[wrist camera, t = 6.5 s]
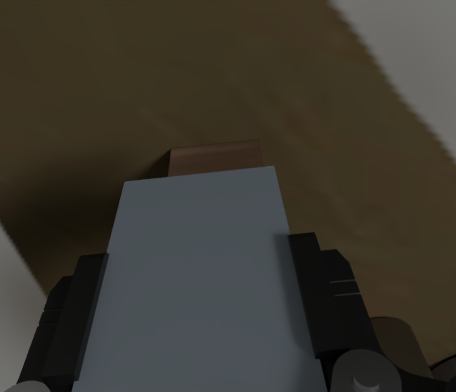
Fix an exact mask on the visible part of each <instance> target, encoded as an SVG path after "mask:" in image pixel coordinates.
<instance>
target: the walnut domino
mask: <svg viewBox="0 0 456 392" xmlns="http://www.w3.org/2000/svg"><path fill="white" fill-rule="evenodd" d="M258 167H264V166H263V161H262V156H261V151H260V145H259V140H249V141H239V142H230V143H220V144H210V145H200V146H190V147H181V148H171V156H170V163H169V171H168V177H173V176H183V175H192V174H202V173H211V172H220V171H230V170H239V169H249V168H258Z"/></svg>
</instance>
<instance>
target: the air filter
mask: <svg viewBox="0 0 456 392" xmlns="http://www.w3.org/2000/svg"><path fill="white" fill-rule="evenodd" d="M370 321H371V323H372V326H373V329H374V332H375V334H376V337H377V340H378V342H379V345H380V347H381V349H382V351H383V352H384V354H385V355H386V356H387V358H388V359H389V360H390V361H391V362H393V363H394V364H395V365H396V366H398V367H399V368H401V369H403V370H405V371H407V372H409V373H412V374H415V375H418V376H423V377H428V378H432V379H434V377H433V375H432V373H431V371H430V368H429V366H428V364H427V362H426V359H425V357H424V355H423V353H422V351H421V348H420V346H419V344H418V342H417V339H416V337H415V335H414V333H413V331H412V329H411V327H410V326H409V325H408V324H407V323H406V322H404V321H401V320H399V319H395V318H389V317H381V318H373V319H370Z"/></svg>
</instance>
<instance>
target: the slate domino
mask: <svg viewBox="0 0 456 392" xmlns="http://www.w3.org/2000/svg"><path fill="white" fill-rule="evenodd" d="M288 235H290V232H289V227H288V223H287V219H286V215H285V210H284V206H283V202H282V198H281V194H280V189H279V185H278V181H277V177H276V172H275V168H274V166H268V167H258V168H249V169H239V170H230V171H220V172H211V173H202V174H192V175H183V176H173V177H164V178H154V179H145V180H136V181H126V182H124V186H123V190H122V194H121V198H120V202H119V206H118V210H117V214H116V218H115V222H114V226H113V230H112V234H111V238H110V241H109V245H108V249H107V253H109V258H108V262H107V266H106V270H105V274H104V278H103V282H102V286H101V291H100V295H99V299H98V303H97V307H96V311H95V315H94V319H93V323H92V327H91V332H90V336H89V340H88V344H87V348H86V352H85V356H84V360H83V364H82V368H81V372H80V377H79V381H74V384H73V388H72V392H327V388H326V384H325V379H324V375H323V371H322V367H321V363H320V359H315V356H314V351H313V347H312V343H311V338H310V334H309V329H308V325H307V321H306V316H305V312H304V307H303V303H302V298H301V294H300V290H299V285H298V281H297V276H296V272H295V268H294V263H293V259H292V254H291V250H290V245H289V241H288V237H287V236H288Z"/></svg>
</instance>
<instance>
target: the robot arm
mask: <svg viewBox="0 0 456 392" xmlns="http://www.w3.org/2000/svg"><path fill="white" fill-rule="evenodd" d="M287 237H288V241H289V245H290V250H291V254H292V259H293V263H294V268H295V272H296V276H297V281H298V285H299V290H300V294H301V298H302V303H303V307H304V312H305V316H306V321H307V325H308V329H309V334H310V338H311V343H312V347H313V351H314V356H315V359H320V363H321V367H322V371H323V375H324V379H325V384H326V388H327V392H456V357H455V358H452V359H450V360H448V361H446V362H444V363H442V364H440V365H439V366H437V367H436V368H435V369H433V370H432V371H431V373H432V375H433V377H434V379H432V378H428V377H423V376H418V375H415V374H412V373H409V372H407V371H405V370H403V369H401V368H399V367H398V366H396V365H395V364H394V363H393V362H391V361H390V360H389V359H388V358H387V356H386V355H385V354H384V352H383V351H382V349H381V347H380V345H379V342H378V340H377V337H376V334H375V332H374V329H373V326H372V323H371V321H370V318H369V315H368V313H367V310H366V307H365V304H364V302H363V299H362V296H361V295H360V291H359V288H358V285H357V283H356V282H355V277H354V275H353V272H352V269H351V266H350V264H349V262H348V261H347V260H346V259H345V258H344V257H343V256H342V255H341V254H340V253H339V252H338V251H337V250H336V249H333V250H324V251H321V250H320V247H319V244H318V241H317V237H316V235H315V233H314V232H311V233H301V234H291V235H288V236H287ZM108 258H109V253H102V254H92V255H82V256H80V258H79V259H78V262H77V265H76V268H75V271H74V275H72V276H63V277H62V278H61V279H60V281H59V282H58V283H57V284H56V285H55V287H54V288H53V289H52V290H51V292H50V294H49V296H48V299H47V302H46V305H45V307H44V312H43V313H42V316H41V318H40V321H39V327H37V329H36V332H35V335H34V338H33V340H32V343H31V346H30V349H29V351H28V354H27V357H26V360H25V362H24V365H23V368H22V371H21V374H20V376H19V379H18V381H17V383H16V385H14V386H12V387H11V388H9V389H7V390H6V391H5V392H72V388H73V384H74V381H79V377H80V372H81V368H82V364H83V360H84V356H85V352H86V348H87V344H88V340H89V336H90V332H91V327H92V323H93V319H94V315H95V311H96V307H97V303H98V299H99V295H100V291H101V286H102V282H103V278H104V274H105V270H106V266H107V262H108Z"/></svg>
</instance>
